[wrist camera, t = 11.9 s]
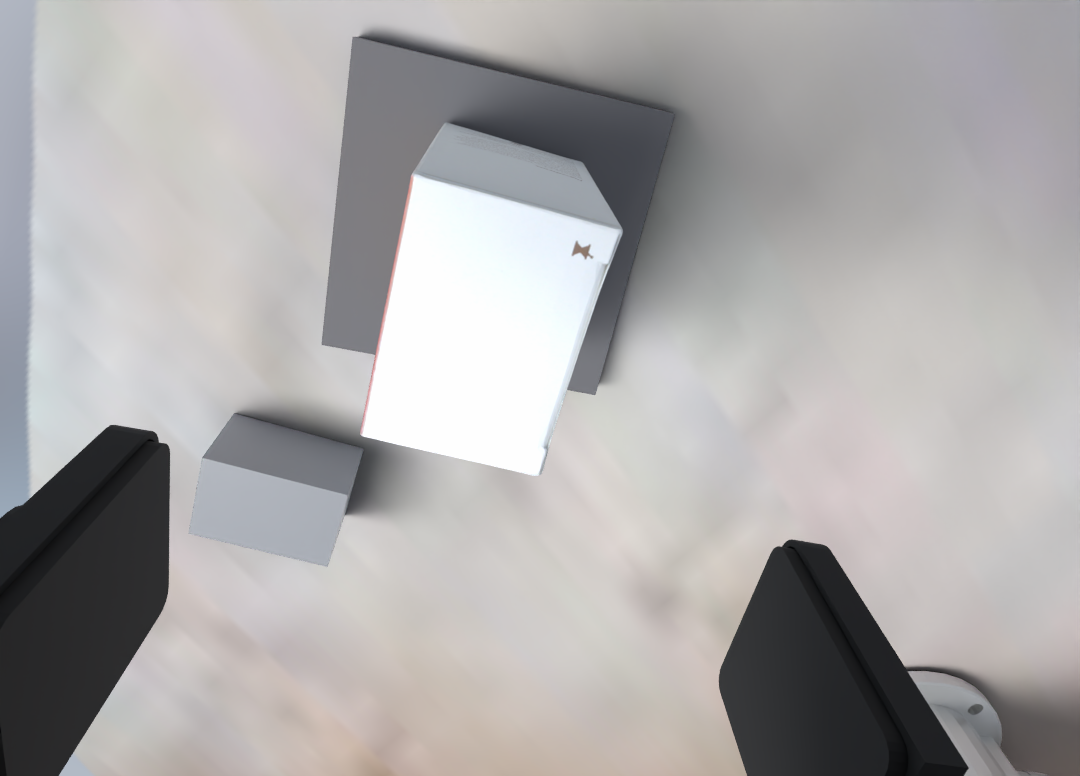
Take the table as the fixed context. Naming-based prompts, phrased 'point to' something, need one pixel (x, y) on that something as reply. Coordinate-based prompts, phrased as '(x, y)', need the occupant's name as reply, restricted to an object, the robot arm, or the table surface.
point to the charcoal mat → (488, 107)
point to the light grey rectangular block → (274, 490)
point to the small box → (488, 300)
